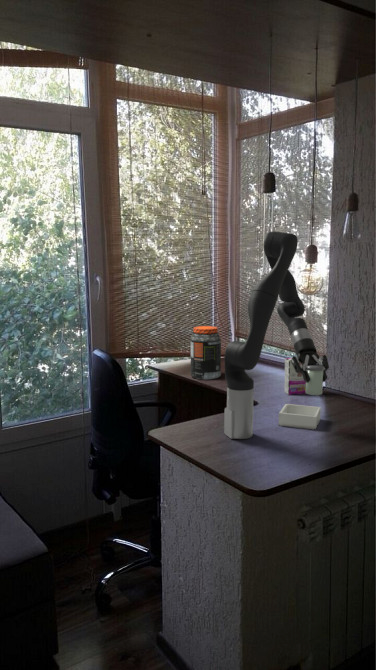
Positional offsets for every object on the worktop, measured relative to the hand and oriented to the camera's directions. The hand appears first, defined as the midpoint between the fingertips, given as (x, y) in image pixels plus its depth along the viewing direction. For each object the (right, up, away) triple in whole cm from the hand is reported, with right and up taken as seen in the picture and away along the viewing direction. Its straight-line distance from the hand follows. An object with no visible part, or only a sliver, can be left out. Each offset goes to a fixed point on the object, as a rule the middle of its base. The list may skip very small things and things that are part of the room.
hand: (316, 380), depth 198 cm
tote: (-4, -17, +11) cm, 20 cm away
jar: (-1, -5, +2) cm, 5 cm away
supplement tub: (-37, -5, +87) cm, 95 cm away
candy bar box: (+4, -10, +54) cm, 55 cm away
